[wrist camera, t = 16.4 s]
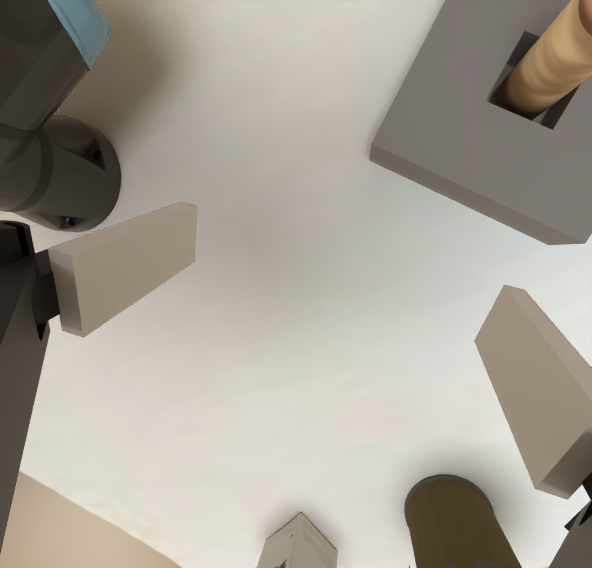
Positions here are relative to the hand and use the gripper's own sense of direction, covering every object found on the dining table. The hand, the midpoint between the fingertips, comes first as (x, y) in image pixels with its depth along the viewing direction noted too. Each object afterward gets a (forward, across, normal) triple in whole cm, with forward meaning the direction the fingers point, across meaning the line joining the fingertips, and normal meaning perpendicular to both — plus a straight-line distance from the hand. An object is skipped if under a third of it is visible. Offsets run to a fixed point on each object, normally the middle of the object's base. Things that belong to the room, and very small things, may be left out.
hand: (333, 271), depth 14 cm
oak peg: (+31, +13, +10) cm, 35 cm away
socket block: (+32, +13, +10) cm, 36 cm away
